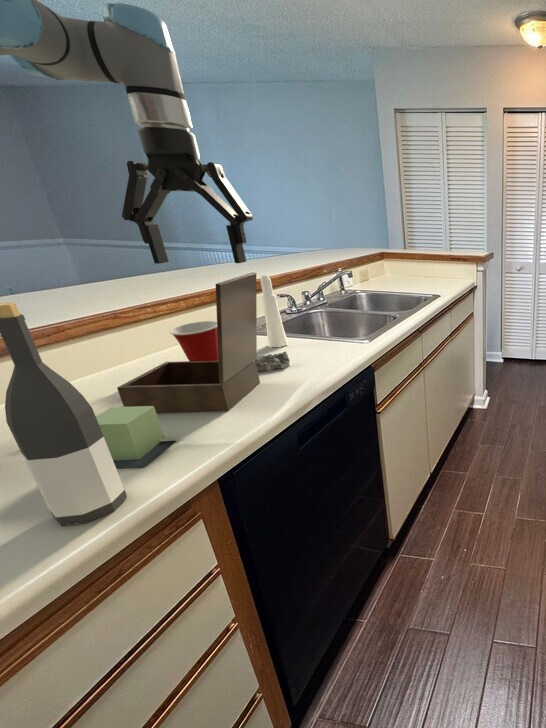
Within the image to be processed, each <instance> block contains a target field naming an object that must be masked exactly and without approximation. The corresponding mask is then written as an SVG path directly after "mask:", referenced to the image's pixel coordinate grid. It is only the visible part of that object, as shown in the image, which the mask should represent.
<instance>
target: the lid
mask: <svg viewBox="0 0 546 728" xmlns="http://www.w3.org/2000/svg"><path fill="white" fill-rule="evenodd" d="M215 305H216V307H215V308H216V322H217V335H218V362H219V383H224V382H226V381H227V380H228V379H230V378H231V377H232V376H234V375H235V374H237V373H238V372H239V371H241V370H242V369H243V368H245V367H246V366H247V365H249V364H250V363H251V362H253V361H254V360H255V359H257V357H258V356H257V355H258V354H257V352H258V351H257V350H258V349H257V348H258V347H257V345H258V343H257V342H258V341H257V339H258V338H257V336H258V335H257V328H258V326H257V323H258V322H257V319H258V317H257V316H258V315H257V310H258V309H257V308H258V307H257V272H250V273H246V274H243V275H240V276H237V277H234V278H230V279H227V280H224V281H221V282H217V283H215Z"/></svg>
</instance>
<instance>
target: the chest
mask: <svg viewBox="0 0 546 728" xmlns="http://www.w3.org/2000/svg"><path fill="white" fill-rule="evenodd" d="M260 384H261V379H260V375H259V372H258V371H257V366H256V362H255V360H254V361H253V362H251V363H250V364H249V365H247V366H246V367H245V368H243V369H242V370H241V371H239V372H238V373H237V374H235V375H234V376H232V377H231V378H230V379H228V380H227V381H226V382H224V383H219V362H218V361H189V360H188V361H184V360H183V361H164V362H163V363H161V364H159V365H157V366H156V367H153V368H152V369H150V370H148V371H146V372H144V373H142V374H140V375H138V376H137V377H135V378H132V379H130V380H129V381H127V382H125V383H122V384H120V385H119V386H117V387H116V389H117V392H118V395H119V397H120V400H121V404H122V407H135V406H154V408H155V411H156V414H181V413H182V414H185V413H186V414H187V413H214V412H230V411H231V410H232V409H233V408H234V407H235V406H236V405H238V404H239V403H240V402H241V401H242V400H243V399H244V398H245V397H246V396H248V395H249V394H250V393H251V392H252V391H253V390H255V389H256V388H257V387H258V386H259V385H260Z"/></svg>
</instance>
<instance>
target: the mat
mask: <svg viewBox="0 0 546 728" xmlns="http://www.w3.org/2000/svg"><path fill="white" fill-rule="evenodd" d="M161 441H162V442H161V443H160V444H158V445H157V446H156V447H154V448H153V449H152V450H151V451H149V452H148V453H147V454H146V455H144V456H143V457H142V458H140V459H136V460H113V462H114V464H115V467H116V469H117V470H118V469H137V468H146V467H147V466H148V465H149V464H151V463H153V461H154V460H155V459H156V458H158V457H159V456H160V455H162V453H164V452H165V451H166V450H167V449H168V448H171V446H172V445H174V444H175V443H176V442H177V440H161Z"/></svg>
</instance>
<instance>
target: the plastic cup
mask: <svg viewBox="0 0 546 728" xmlns="http://www.w3.org/2000/svg"><path fill="white" fill-rule="evenodd" d="M169 333H170V335H172V336H173V337H174V339H176V341H177V342H178V343H179V345H180V347H181V349H182V351H183V353H184V355H185V357H186V359H187V360H188V361H218V335H217V320H204V321H203V320H202V321H195V322H194V321H193V322H188V323H184V324H180V325H178V326H176V327H175V326H174V327H173V328H171V329H170V330H169Z"/></svg>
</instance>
